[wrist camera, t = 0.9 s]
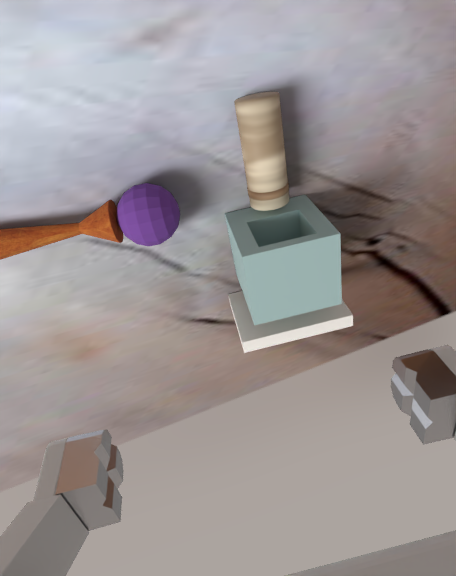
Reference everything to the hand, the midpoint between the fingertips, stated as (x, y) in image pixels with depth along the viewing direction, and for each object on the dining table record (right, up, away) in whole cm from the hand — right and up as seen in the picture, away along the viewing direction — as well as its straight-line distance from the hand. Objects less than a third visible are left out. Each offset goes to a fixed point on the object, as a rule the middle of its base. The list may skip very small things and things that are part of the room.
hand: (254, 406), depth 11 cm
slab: (+5, +3, +39) cm, 39 cm away
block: (+4, +9, +35) cm, 36 cm away
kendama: (-16, +11, +30) cm, 36 cm away
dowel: (+2, +17, +29) cm, 34 cm away
